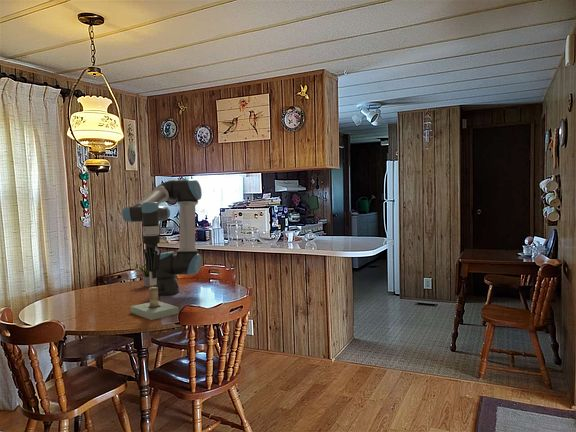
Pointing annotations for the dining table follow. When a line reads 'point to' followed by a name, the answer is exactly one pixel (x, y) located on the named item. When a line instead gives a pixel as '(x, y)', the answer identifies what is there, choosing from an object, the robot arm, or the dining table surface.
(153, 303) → the peg
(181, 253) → the robot arm
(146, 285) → the house plant
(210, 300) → the dining table surface
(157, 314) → the seat plank
